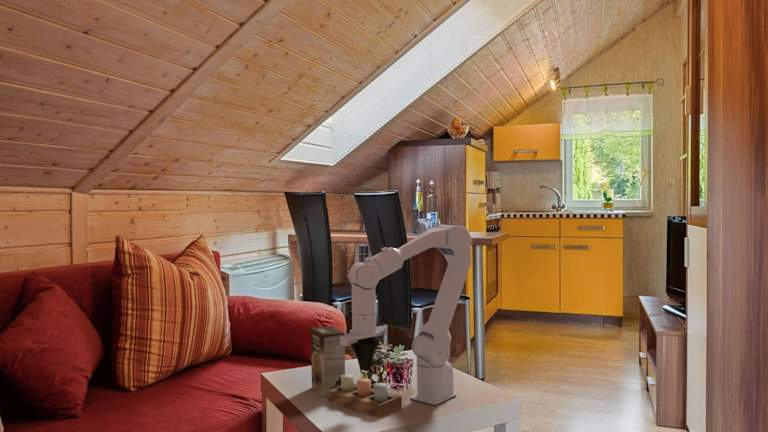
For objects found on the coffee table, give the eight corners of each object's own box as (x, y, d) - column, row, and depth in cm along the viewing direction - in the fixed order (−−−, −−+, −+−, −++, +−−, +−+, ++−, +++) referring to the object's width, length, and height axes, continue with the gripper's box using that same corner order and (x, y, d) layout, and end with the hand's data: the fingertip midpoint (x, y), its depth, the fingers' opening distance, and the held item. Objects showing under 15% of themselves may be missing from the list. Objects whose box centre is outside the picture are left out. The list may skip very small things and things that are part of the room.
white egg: (380, 398, 142) (380, 381, 142) (391, 401, 140) (390, 384, 140) (371, 402, 140) (370, 385, 140) (381, 405, 138) (381, 388, 137)
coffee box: (310, 387, 158) (309, 327, 157) (333, 383, 161) (331, 325, 160) (323, 397, 150) (322, 334, 149) (346, 393, 153) (345, 331, 152)
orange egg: (363, 393, 146) (363, 377, 146) (373, 396, 144) (373, 380, 144) (354, 397, 144) (354, 380, 143) (364, 400, 141) (364, 383, 141)
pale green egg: (347, 388, 150) (347, 373, 150) (357, 391, 148) (357, 375, 147) (338, 392, 147) (338, 376, 147) (347, 395, 145) (347, 379, 145)
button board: (328, 401, 146) (328, 390, 146) (350, 393, 152) (350, 382, 152) (379, 417, 135) (379, 405, 135) (401, 408, 141) (401, 396, 141)
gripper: (372, 306, 148) (372, 360, 148) (330, 316, 137) (331, 373, 137) (393, 310, 143) (394, 365, 144) (351, 319, 132) (353, 379, 133)
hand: (365, 369), depth 140 cm, fingers closed
